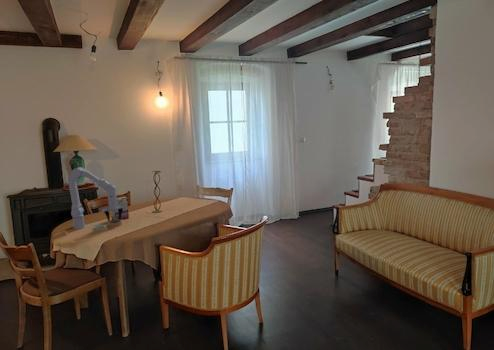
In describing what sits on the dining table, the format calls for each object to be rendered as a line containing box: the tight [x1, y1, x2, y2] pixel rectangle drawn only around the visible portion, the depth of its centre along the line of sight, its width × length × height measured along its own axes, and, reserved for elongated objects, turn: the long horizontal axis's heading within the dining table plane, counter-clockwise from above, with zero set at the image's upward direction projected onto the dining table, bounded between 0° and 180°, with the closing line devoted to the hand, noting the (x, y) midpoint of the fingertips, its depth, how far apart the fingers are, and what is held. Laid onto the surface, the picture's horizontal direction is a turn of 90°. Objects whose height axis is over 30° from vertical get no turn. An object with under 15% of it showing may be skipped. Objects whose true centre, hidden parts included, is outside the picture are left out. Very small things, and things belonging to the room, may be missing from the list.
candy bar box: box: [111, 196, 130, 220], centre depth 284 cm, size 11×5×16 cm, turn 137°
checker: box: [90, 224, 108, 232], centre depth 260 cm, size 10×10×2 cm
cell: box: [111, 216, 118, 223], centre depth 266 cm, size 4×4×6 cm
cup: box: [107, 219, 123, 228], centre depth 266 cm, size 10×10×4 cm
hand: (114, 220), depth 266 cm, fingers open, 7 cm apart
